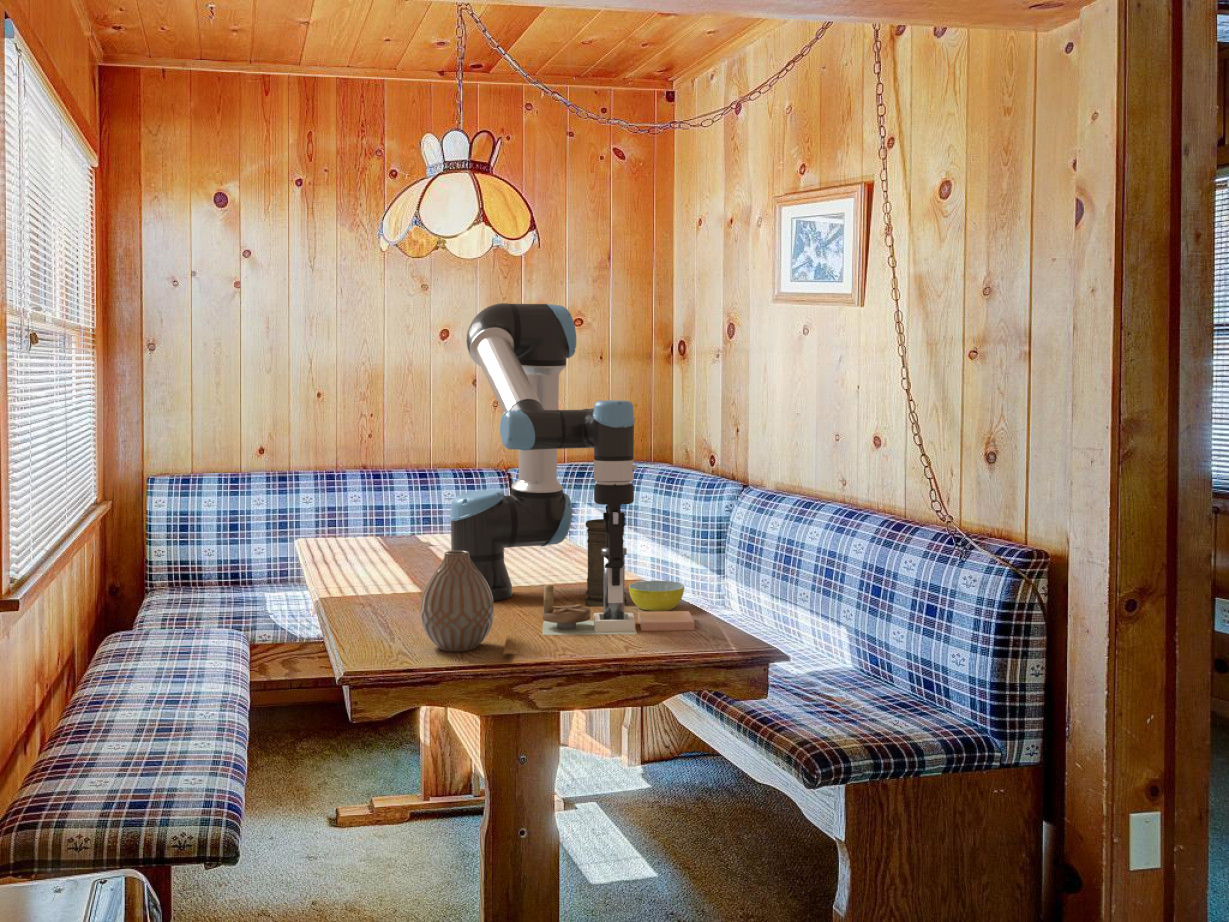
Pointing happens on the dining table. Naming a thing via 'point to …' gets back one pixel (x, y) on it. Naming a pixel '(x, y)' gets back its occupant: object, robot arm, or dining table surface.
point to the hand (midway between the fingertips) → (614, 596)
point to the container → (595, 563)
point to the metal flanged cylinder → (610, 609)
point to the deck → (592, 626)
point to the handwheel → (562, 610)
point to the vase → (457, 604)
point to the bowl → (656, 594)
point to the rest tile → (666, 620)
